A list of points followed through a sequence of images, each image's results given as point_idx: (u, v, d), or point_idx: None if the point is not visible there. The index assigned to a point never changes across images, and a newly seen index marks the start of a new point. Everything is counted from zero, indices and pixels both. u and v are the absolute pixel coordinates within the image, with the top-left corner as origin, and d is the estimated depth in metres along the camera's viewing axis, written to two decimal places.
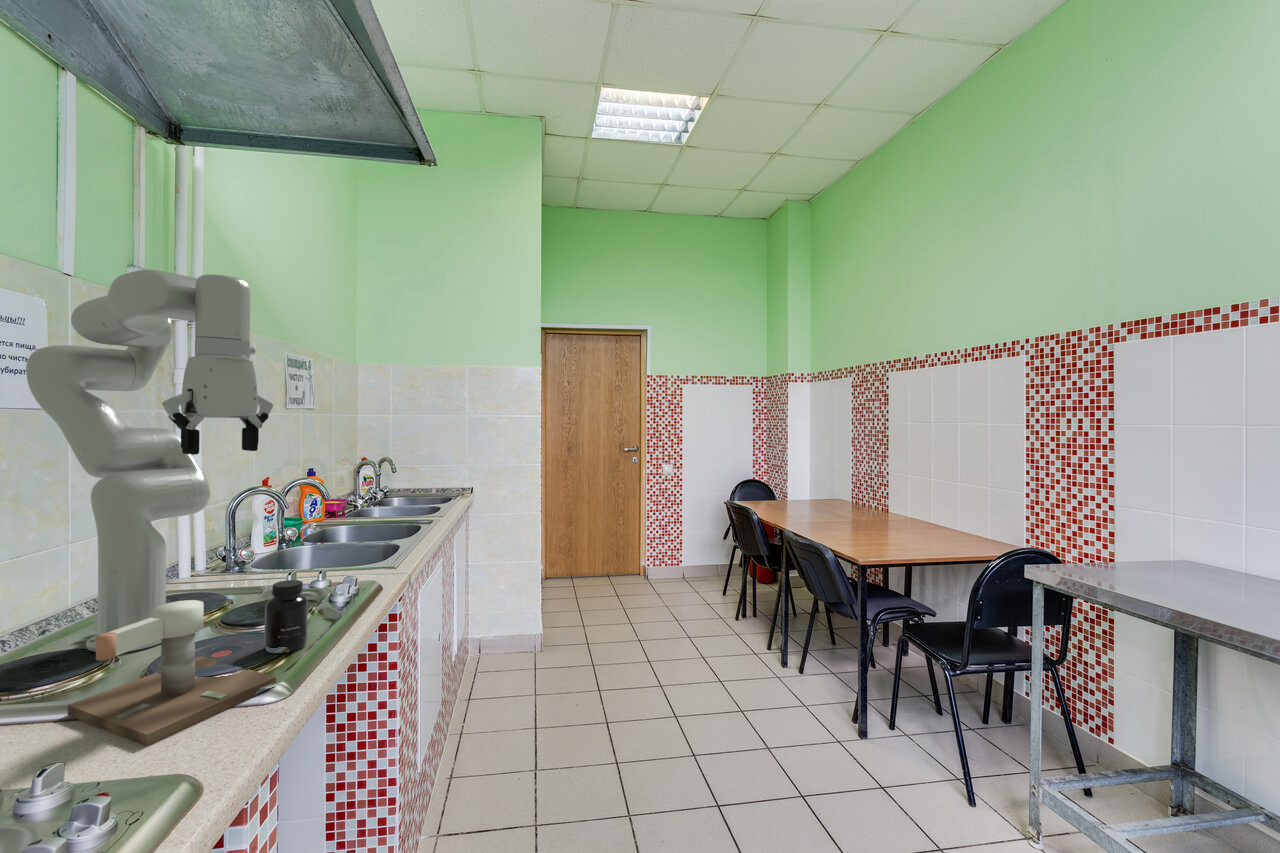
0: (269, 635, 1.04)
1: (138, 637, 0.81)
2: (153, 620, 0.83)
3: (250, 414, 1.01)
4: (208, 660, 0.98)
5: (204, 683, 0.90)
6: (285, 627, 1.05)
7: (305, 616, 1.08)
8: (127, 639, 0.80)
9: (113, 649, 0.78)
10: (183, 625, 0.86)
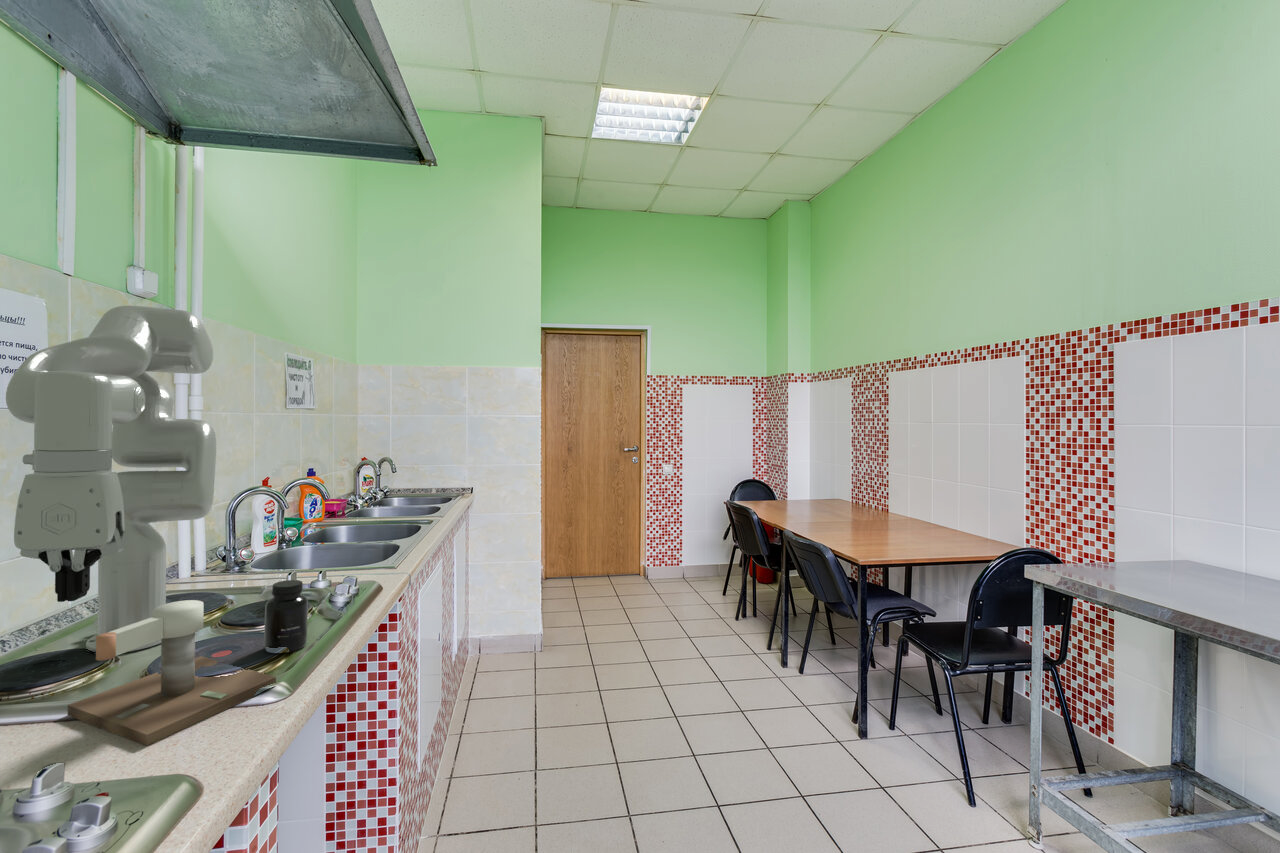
0: (269, 635, 1.04)
1: (138, 637, 0.81)
2: (153, 620, 0.83)
3: None
4: (208, 660, 0.98)
5: (204, 683, 0.90)
6: (285, 627, 1.05)
7: (305, 616, 1.08)
8: (127, 639, 0.80)
9: (113, 649, 0.78)
10: (183, 625, 0.86)
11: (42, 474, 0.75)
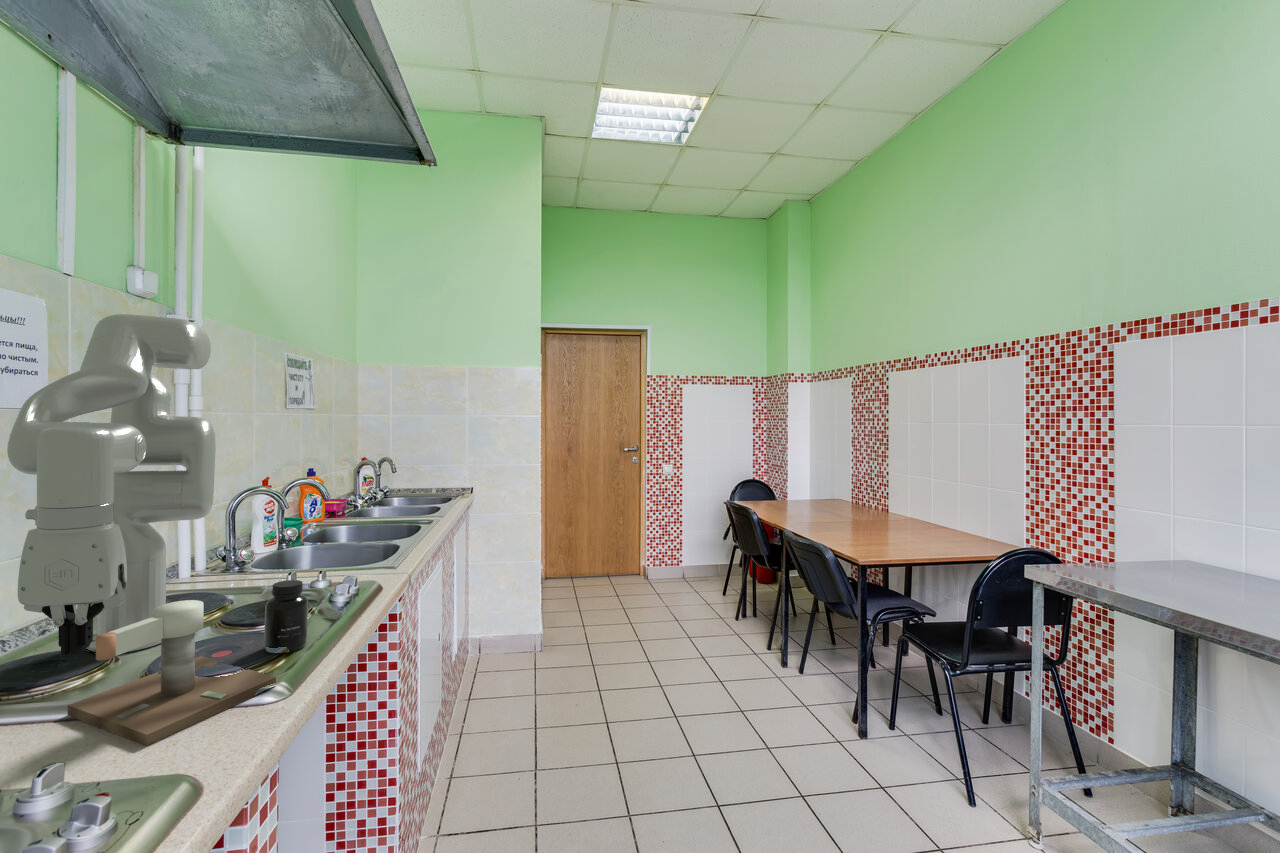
0: (269, 635, 1.04)
1: (138, 637, 0.81)
2: (153, 620, 0.83)
3: None
4: (208, 660, 0.98)
5: (204, 683, 0.90)
6: (285, 627, 1.05)
7: (305, 616, 1.08)
8: (127, 639, 0.80)
9: (113, 649, 0.78)
10: (183, 625, 0.86)
11: (45, 531, 0.75)
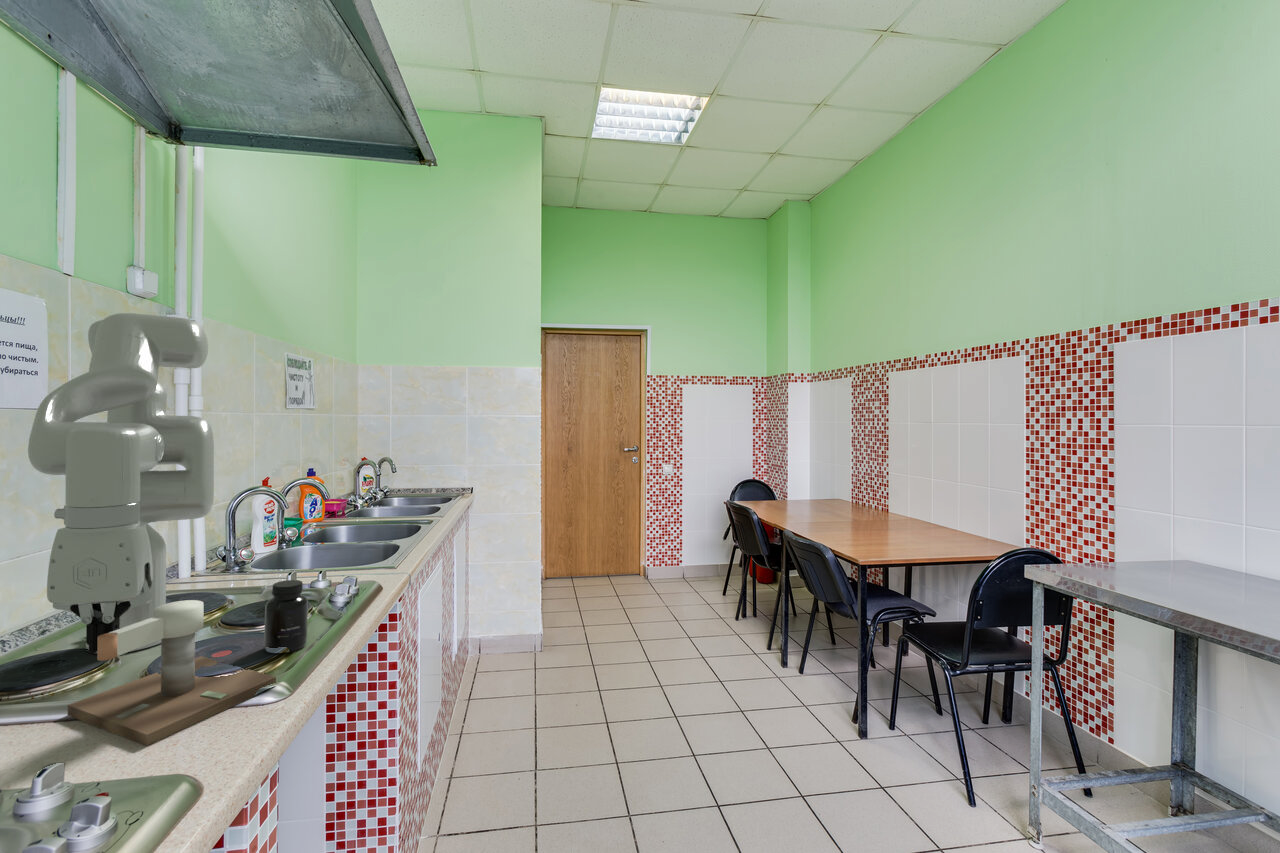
0: (269, 635, 1.04)
1: (139, 637, 0.81)
2: (154, 620, 0.83)
3: None
4: (208, 660, 0.98)
5: (204, 683, 0.90)
6: (285, 627, 1.05)
7: (305, 616, 1.08)
8: (128, 639, 0.80)
9: (115, 649, 0.78)
10: (184, 625, 0.86)
11: (74, 530, 0.76)
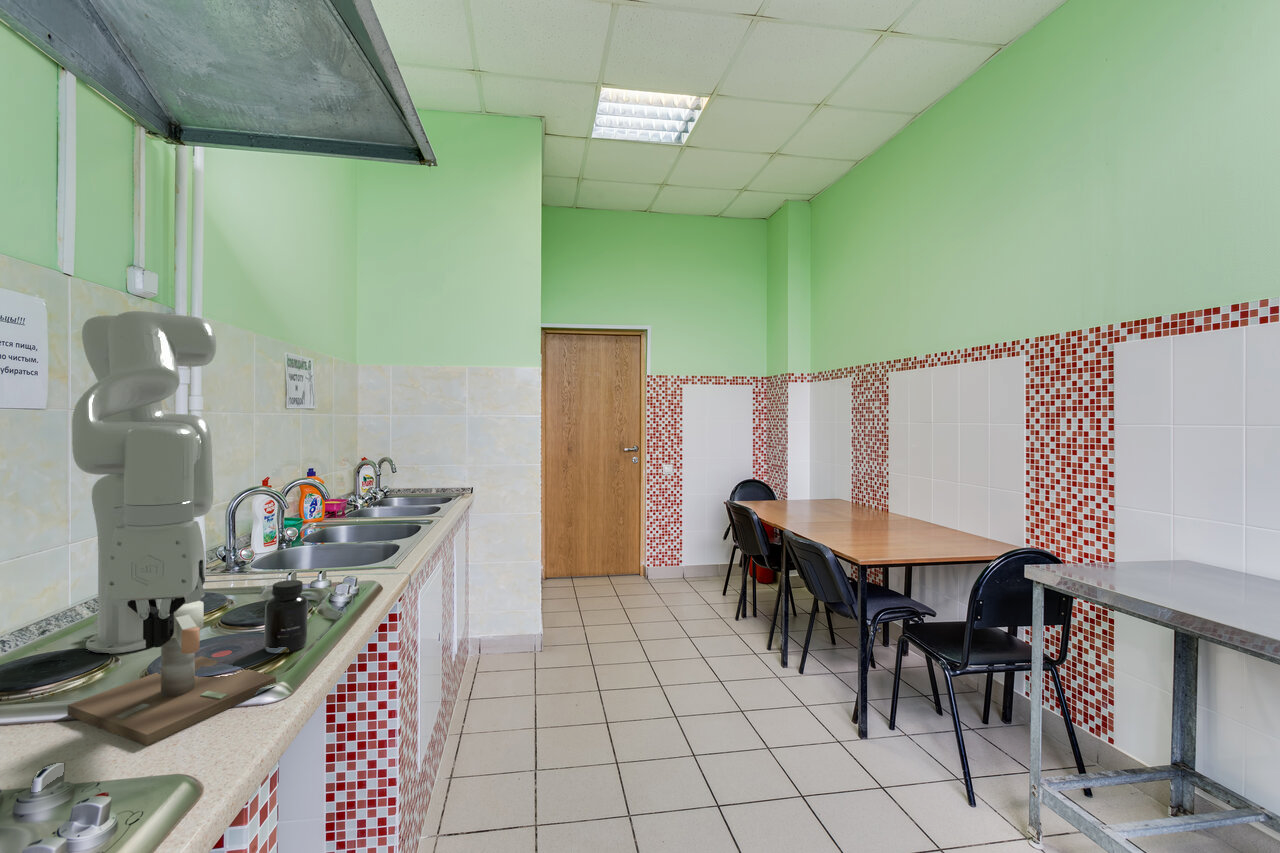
0: (269, 635, 1.04)
1: None
2: (188, 617, 0.85)
3: None
4: (208, 660, 0.98)
5: (204, 683, 0.90)
6: (285, 627, 1.05)
7: (305, 616, 1.08)
8: None
9: None
10: (201, 618, 0.88)
11: (132, 528, 0.77)
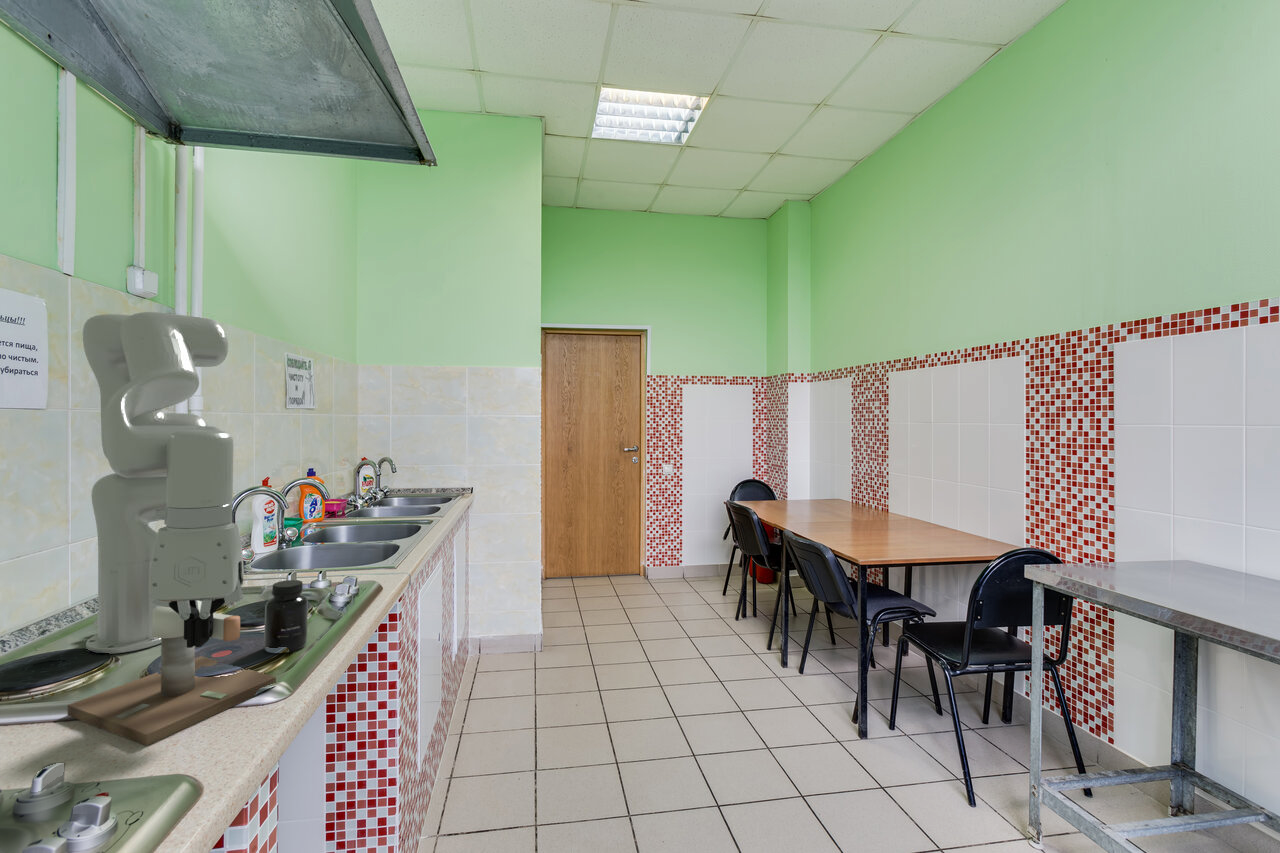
0: (269, 635, 1.04)
1: None
2: None
3: None
4: (208, 660, 0.98)
5: (204, 683, 0.90)
6: (285, 627, 1.05)
7: (305, 616, 1.08)
8: None
9: None
10: None
11: (176, 530, 0.79)
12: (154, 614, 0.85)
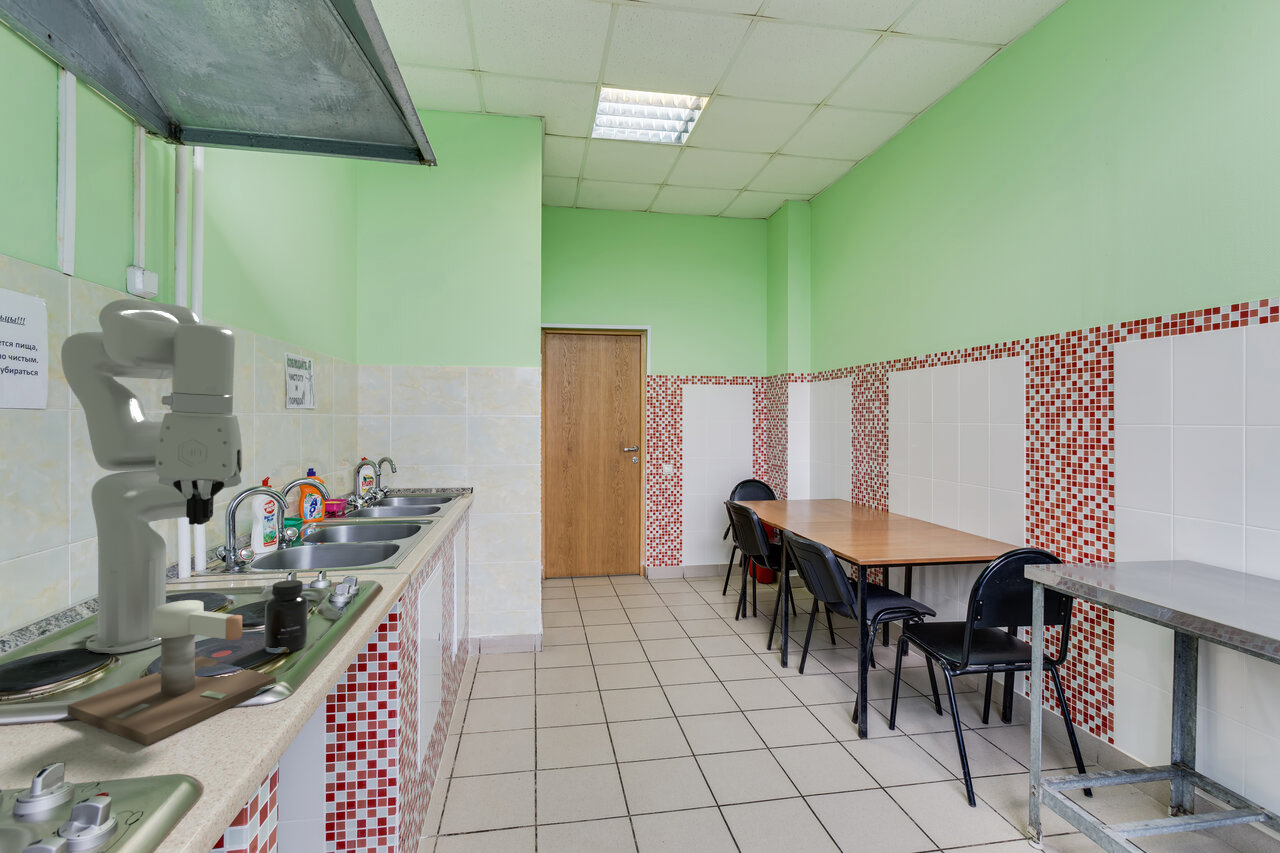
0: (269, 635, 1.04)
1: None
2: (205, 612, 0.87)
3: None
4: (208, 660, 0.98)
5: (204, 683, 0.90)
6: (285, 627, 1.05)
7: (305, 616, 1.08)
8: None
9: None
10: None
11: (180, 413, 0.86)
12: (154, 614, 0.85)
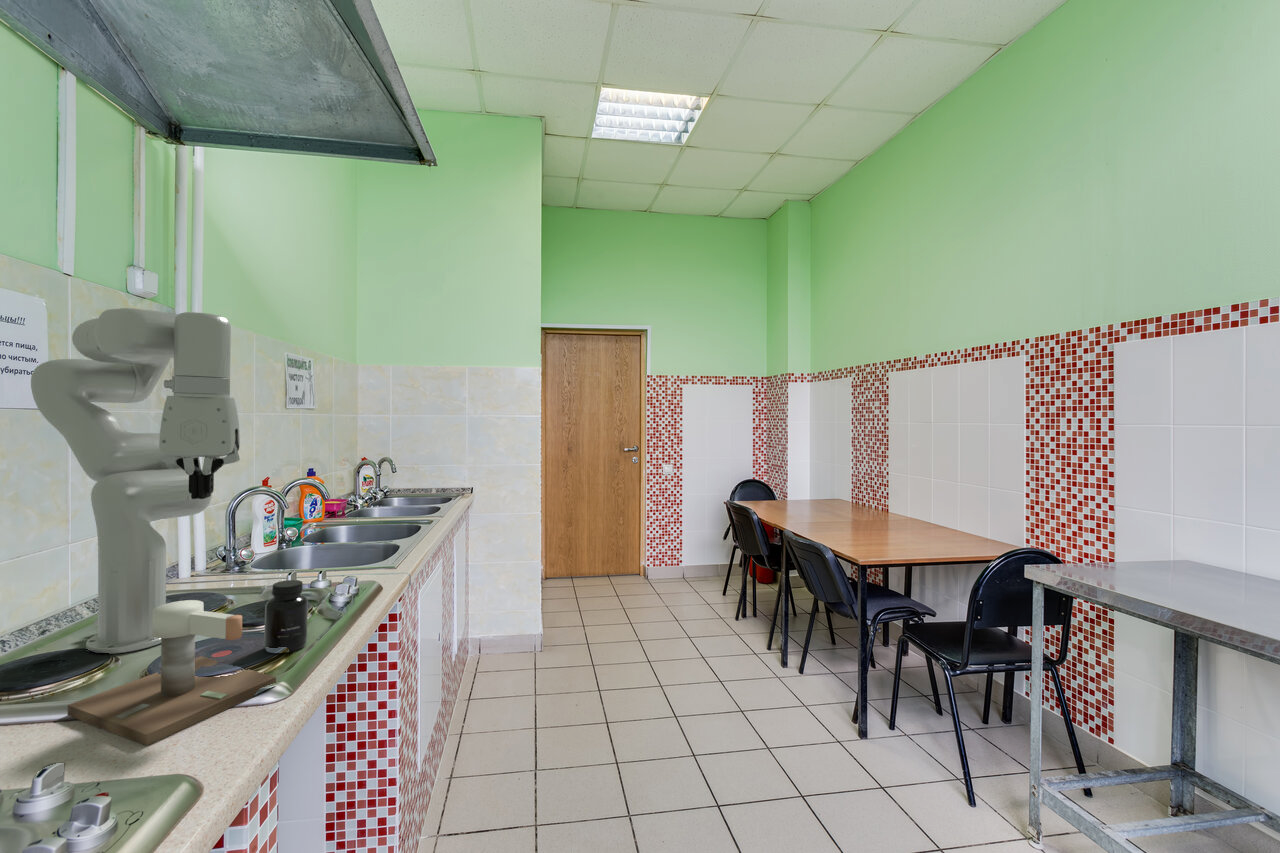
0: (269, 635, 1.04)
1: None
2: (205, 612, 0.87)
3: None
4: (208, 660, 0.98)
5: (204, 683, 0.90)
6: (285, 627, 1.05)
7: (305, 616, 1.08)
8: None
9: None
10: None
11: (182, 394, 0.93)
12: (154, 614, 0.85)
